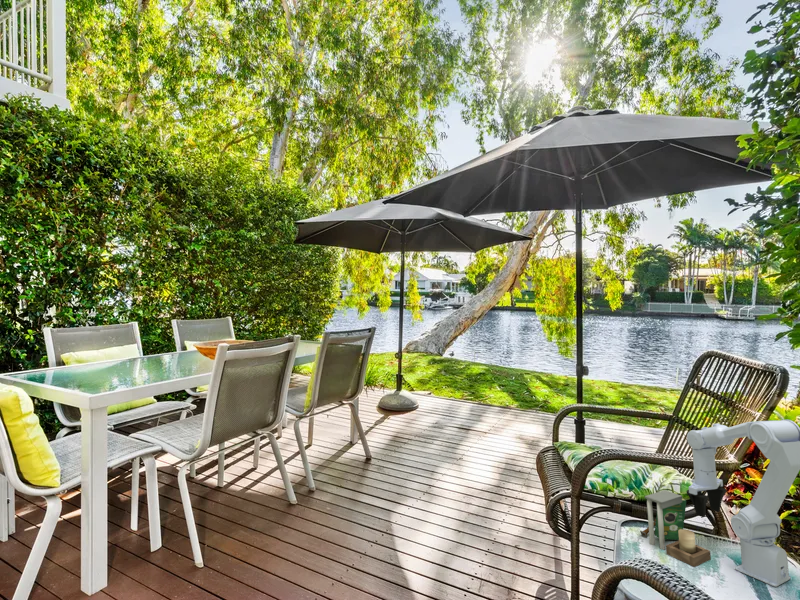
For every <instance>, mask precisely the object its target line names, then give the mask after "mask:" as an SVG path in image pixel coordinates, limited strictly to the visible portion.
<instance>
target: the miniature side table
mask: <svg viewBox="0 0 800 600" xmlns="http://www.w3.org/2000/svg"><path fill="white" fill-rule="evenodd" d="M682 498H683V495H681V494H678V493H674V492H671V491H670V490H665V489H663V490H661V491H657V492H653V493H651V494H648V495H644V499H646V507H647V522H648V526H649V533H648V535H649V536H648V537H649V545H650V546H651V545H652V546H655V545H656V540H655V537H656V536H655V534H654V530H655V528H654V523H653V522H654V511H653V502H655V503H656V515H657V514H658V528H659V538H658V539H659V540H658V541H659V549H660V550H663V551H666V544H665V543H666V540H665V539H664V525H663V511H662V509H664V508H667V507H670V506H673V505H676V504H679V503H682Z"/></svg>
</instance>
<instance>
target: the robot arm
mask: <svg viewBox="0 0 800 600" xmlns="http://www.w3.org/2000/svg"><path fill="white" fill-rule="evenodd" d="M745 437H746V438H748V440H751V441H753V442H754V444H755V445H756V446H757V448H758V449H759V450H760V453H762V454H763V455H764V457H765V458H766V459H768V460H770V462H769V464H768V466H767V468H766V471H765V472H764V474H763V476H762V478H761V481H760V483H759V484H758V487H757V488H756V491H755V493H754V495H753V497H752V499H751V501H750V503H749V504H748V505H746V506H744V507H743V508H741V509H739V511H738V513H736V514H734V515H732V516H731V519H730V525H731V528H732V531H733V532H734V533H735V535H736V537H737V538H739V546H740V555H741V556H740V557H741V558H740V559H741V564H739V565H737V566H735V567H734V570H736V571H737V572H741V573H742V574H744V575H747V576H749V577H751V578H754V579H756V580H758V581H760V582H763V583H766V584H767V585H770V586H772V587H778V586H780V585H782V584H783V583H786V582H787V581H789V580H791V576H790V573H789V564H788V563H789V560H788V554H787V552H786V550H785V549H784V548H781V547H779V546H778V545H776V544H775V543H776V538H778V537H779V536H780V534H781V523H782V519H781V517H780V516H779V514H778V512H779V510H780V508H781V506H782V505H783V503H784V501H785V498H786V496H787V495H788V494H789V493H788V492H789V491H790V489H791V487H792V485H793V484H794V481H795V480H796V477H797V476H798V474H799V472H800V427H799V425H798V424H797V423H796V422H795V421H793V420H791V419H781V420H759V421H746V422H742V423H740V424H736V425H733V426H729V427H728V426H727V425H725V424H720V423H713V424H712V426H711V427H707V426H704V427H701V429H699V430H696V429H692V430H689V431H688V432H687V435H686V441H687V443H688V445H689V446H690V447H691V449H692V451H691V452H692V463H693V475H694V478H693V479H691V480H690V482H691V483H692V484H691V485H689V486H688V490H686V495H687V496H688V498H689V499H690V501H691V503H692V505H693V508H694V510H695V513H696V515H697V516H698V517H701V518H705V517H706V515H707V514H706V512H707V509H706V508H707V502H709V507H710V510H711V511H714V512H718V513H720V510H721V507H722V501H723V498H724V497H725V495H726V493H727V489H726V488H724V483H723V479H720V478H717V470H716V467H717V466H716V456H715V455H716V454H717V448H718V447H719V448H720V447H723V446H729V445H732V444H733V443H735V439H740V438H745ZM703 492H706V494H707V495H705V494H704V493H703Z"/></svg>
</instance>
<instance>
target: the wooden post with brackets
mask: <svg viewBox="0 0 800 600" xmlns="http://www.w3.org/2000/svg"><path fill="white" fill-rule="evenodd" d="M653 523H654V535H655V525H656V519H653ZM639 533H640V535H641V536H643V537H644V538H646V539H647V538H648V535H649V525H648V526H647V528H645V529H644V530H640V532H639Z"/></svg>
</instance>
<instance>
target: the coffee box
mask: <svg viewBox="0 0 800 600" xmlns="http://www.w3.org/2000/svg"><path fill="white" fill-rule="evenodd" d="M686 507H687V500H686V499H685V498H683V497H682V503H679V504H676V505H673V506H670V507H667V508H664V509H662V511H663V525H664V539H665V541H666V540H673V541H678V540H679V533H678V530H680V529H684V528H685V527H684V525H685V518H686V517H685V516H686ZM655 520H656V525H655V528H654V530H655V534H654V537H656V538H657V539H659V528H658V514H657V513H656V518H655Z"/></svg>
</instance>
